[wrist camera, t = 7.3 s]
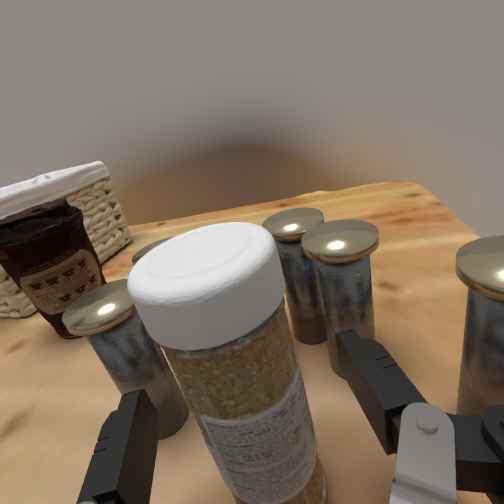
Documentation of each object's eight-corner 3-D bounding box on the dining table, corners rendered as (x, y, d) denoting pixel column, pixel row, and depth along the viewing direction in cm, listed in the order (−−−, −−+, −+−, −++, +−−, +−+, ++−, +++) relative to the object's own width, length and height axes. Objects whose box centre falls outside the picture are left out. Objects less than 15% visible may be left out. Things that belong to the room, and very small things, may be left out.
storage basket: (21, 329, 35) (-64, 212, 29) (-53, 324, 42) (-137, 227, 35) (143, 238, 55) (108, 157, 49) (80, 244, 61) (42, 173, 55)
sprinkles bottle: (241, 444, 17) (155, 231, 11) (322, 439, 16) (274, 207, 11) (231, 552, 13) (88, 305, 7) (338, 551, 12) (273, 275, 7)
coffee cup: (139, 312, 32) (82, 198, 27) (56, 361, 28) (-32, 236, 22) (115, 289, 39) (66, 192, 33) (45, 325, 35) (-25, 222, 29)
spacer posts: (117, 392, 23) (52, 288, 19) (272, 288, 31) (250, 198, 26) (363, 932, 7) (286, 1038, 3) (558, 422, 14) (616, 247, 10)
